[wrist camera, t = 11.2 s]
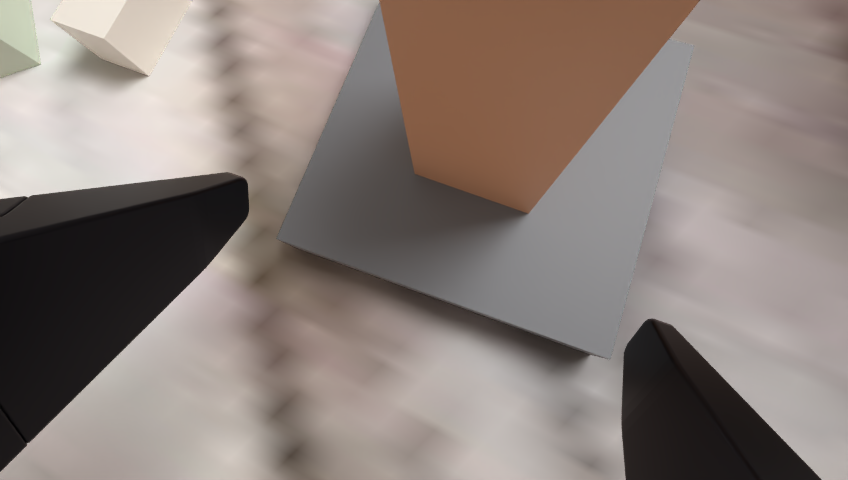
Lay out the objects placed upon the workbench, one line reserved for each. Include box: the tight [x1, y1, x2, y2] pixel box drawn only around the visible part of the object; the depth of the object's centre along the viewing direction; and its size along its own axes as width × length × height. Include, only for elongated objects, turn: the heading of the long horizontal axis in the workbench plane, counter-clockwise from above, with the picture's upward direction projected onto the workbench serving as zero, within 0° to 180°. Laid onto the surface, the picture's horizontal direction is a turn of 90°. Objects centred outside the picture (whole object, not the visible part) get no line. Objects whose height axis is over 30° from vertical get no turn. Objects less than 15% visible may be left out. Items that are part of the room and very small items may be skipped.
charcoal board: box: [276, 2, 694, 359], centre depth 18 cm, size 14×14×2 cm
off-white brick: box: [50, 0, 193, 76], centre depth 20 cm, size 6×3×3 cm, turn 158°
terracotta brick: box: [379, 0, 700, 214], centre depth 10 cm, size 5×5×13 cm
